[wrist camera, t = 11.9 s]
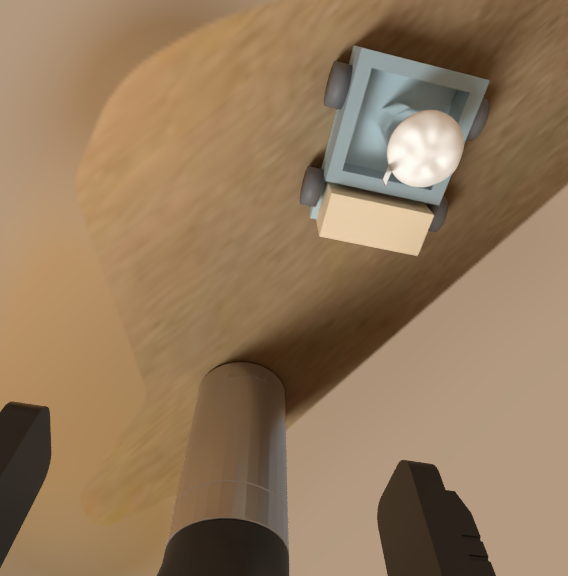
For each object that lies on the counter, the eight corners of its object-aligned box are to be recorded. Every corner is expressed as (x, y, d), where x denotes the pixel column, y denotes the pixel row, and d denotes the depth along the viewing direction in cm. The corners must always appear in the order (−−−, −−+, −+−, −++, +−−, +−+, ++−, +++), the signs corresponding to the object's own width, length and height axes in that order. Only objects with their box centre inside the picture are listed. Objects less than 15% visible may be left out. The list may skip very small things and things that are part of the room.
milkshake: (345, 115, 34) (369, 147, 26) (414, 80, 33) (463, 100, 25) (368, 169, 36) (396, 215, 28) (433, 138, 35) (484, 176, 27)
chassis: (421, 236, 41) (437, 260, 37) (295, 210, 39) (297, 231, 35) (485, 78, 34) (512, 86, 30) (337, 40, 33) (346, 43, 29)
